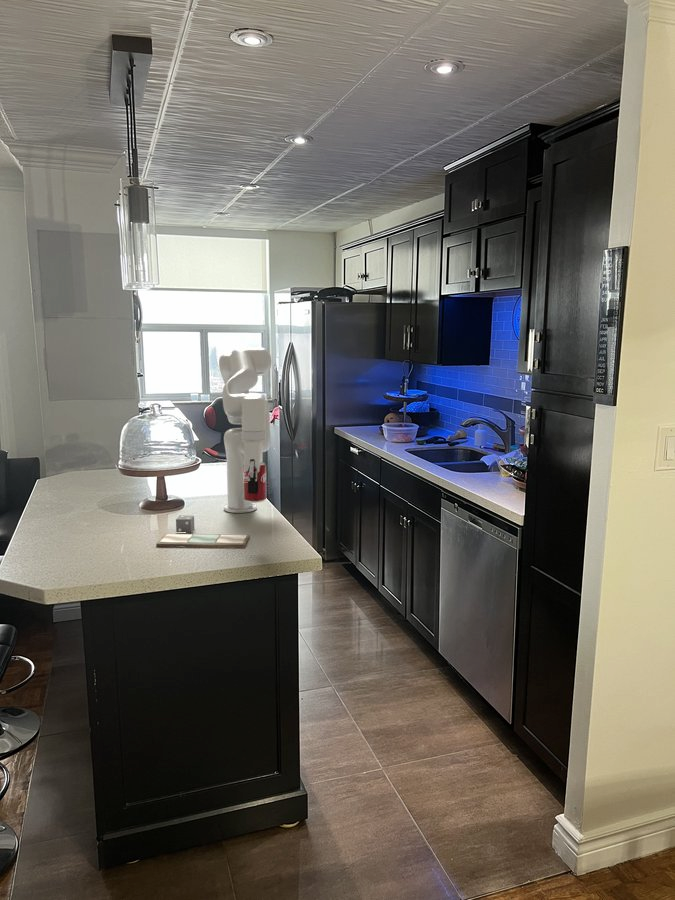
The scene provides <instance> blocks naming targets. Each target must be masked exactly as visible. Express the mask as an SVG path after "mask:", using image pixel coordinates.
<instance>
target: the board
mask: <svg viewBox="0 0 675 900" xmlns="http://www.w3.org/2000/svg"><path fill="white" fill-rule="evenodd" d="M250 536H251V535H250V534H237V533H236V534H232V533H231V534H224V533H222V534H219V533H217V534H215V533H212V534H211V533H191V534H190V533H165V534H163V536H162V537H161V538H160V540H158V541H157V543H156V544H155V545H156V548H177V547H176V546H185V547H184V548H215V547H235V548H236V547H237V548H238V549H239V548H240V549H241V548H242V549H243V548H244V547H246V546H247V544H248V541H249V539H250ZM246 543H247V544H246ZM164 546H165V547H164ZM235 548H234V549H235ZM237 548H236V549H237ZM244 549H245V548H244Z"/></svg>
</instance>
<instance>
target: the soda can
mask: <svg viewBox="0 0 675 900" xmlns="http://www.w3.org/2000/svg"><path fill="white" fill-rule="evenodd" d="M249 468H250V467H249ZM254 471H256V467H255V466H254ZM248 474H249V469H248V471H246V473H245V472H244V465H243V491H244V500H245V501H246V502H252V503H253V504H256V503H257V504H258V503H262V502H264V501H266V500H267V465H266V463H265V462H263V461H262V464H261V466H260V472H258V476H257V481H258V493H257V494H249V493H248Z"/></svg>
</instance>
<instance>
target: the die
mask: <svg viewBox="0 0 675 900" xmlns="http://www.w3.org/2000/svg"><path fill="white" fill-rule="evenodd" d="M193 530H194V531H195V516H194V515H188V514H187V515H179V516H178V517H176V518H175V531H176V532H186V533H185V534H190V533H191V532H192V531H193ZM194 531H193V532H194ZM176 532H175V533H176ZM193 532H192V533H193ZM192 533H191V534H192Z"/></svg>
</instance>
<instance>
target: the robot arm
mask: <svg viewBox="0 0 675 900" xmlns="http://www.w3.org/2000/svg"><path fill="white" fill-rule="evenodd" d="M218 367H219V372H220V374H221V377H222V381H223V383H224V386H223V388H222V395H221V397H222V398H221V399H222V407H223V411H224V413H225V415H226V416H227V420H228V422H229V423H230V424H231V425H241V427H233V428H230V429H228V430H226V431H225V432H224V434H223V435H224V436H223V443H224V449H225V455H226V456H225V457H226V482H227V483H226V486H227V504H226V505H224V506H223V510H224V511H225V512H227V513H232V514H233V513H234V514H237V513H238V514H241V513H242V514H243V513H251V512H254V511H256V510H257V508H258V506H257V504H256V503H252V502H246V501H245V500H244V491H243V465H244V472H245V473H246V471H248V469H249V474H248V493H249V494H257V493H258V481H257V476H258V472H260V466H261V464H262V462H263V459H264V458H263V457H264V455H263V453H266V452H267V451H269V449H270V447H271V422H270V421H271V419H270V407H269V401H268V399H267V398H266V396H265V395H264V394H262V393H250V390H251V389H252V388H254V387H255V386H256V385H257V383H258V380H259V377H263V376H265V375H267V373H269V372H270V370H271V367H272V356H271V353H270V351H269V350H268V349H267V348H265V347H239V348H235V349H234V350H232V352H230V353H229V352H228V353H224V354H222V355H220V356H219V359H218ZM254 466H255V467H256V471H254ZM249 467H250V468H249Z"/></svg>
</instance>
